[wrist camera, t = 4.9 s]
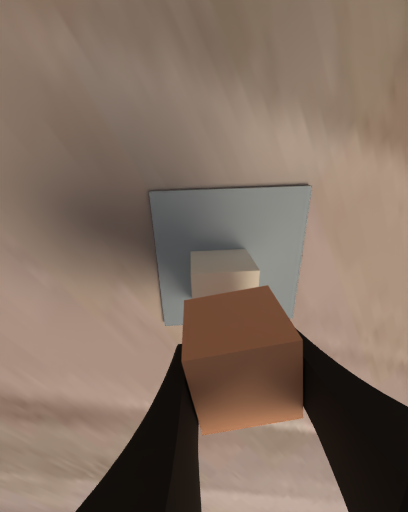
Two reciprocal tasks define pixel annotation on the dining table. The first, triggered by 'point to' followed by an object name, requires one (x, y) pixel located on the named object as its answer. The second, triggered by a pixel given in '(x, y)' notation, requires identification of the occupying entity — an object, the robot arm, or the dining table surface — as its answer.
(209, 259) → the cream block
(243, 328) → the terracotta block
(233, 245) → the grey square plate
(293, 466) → the dining table surface
